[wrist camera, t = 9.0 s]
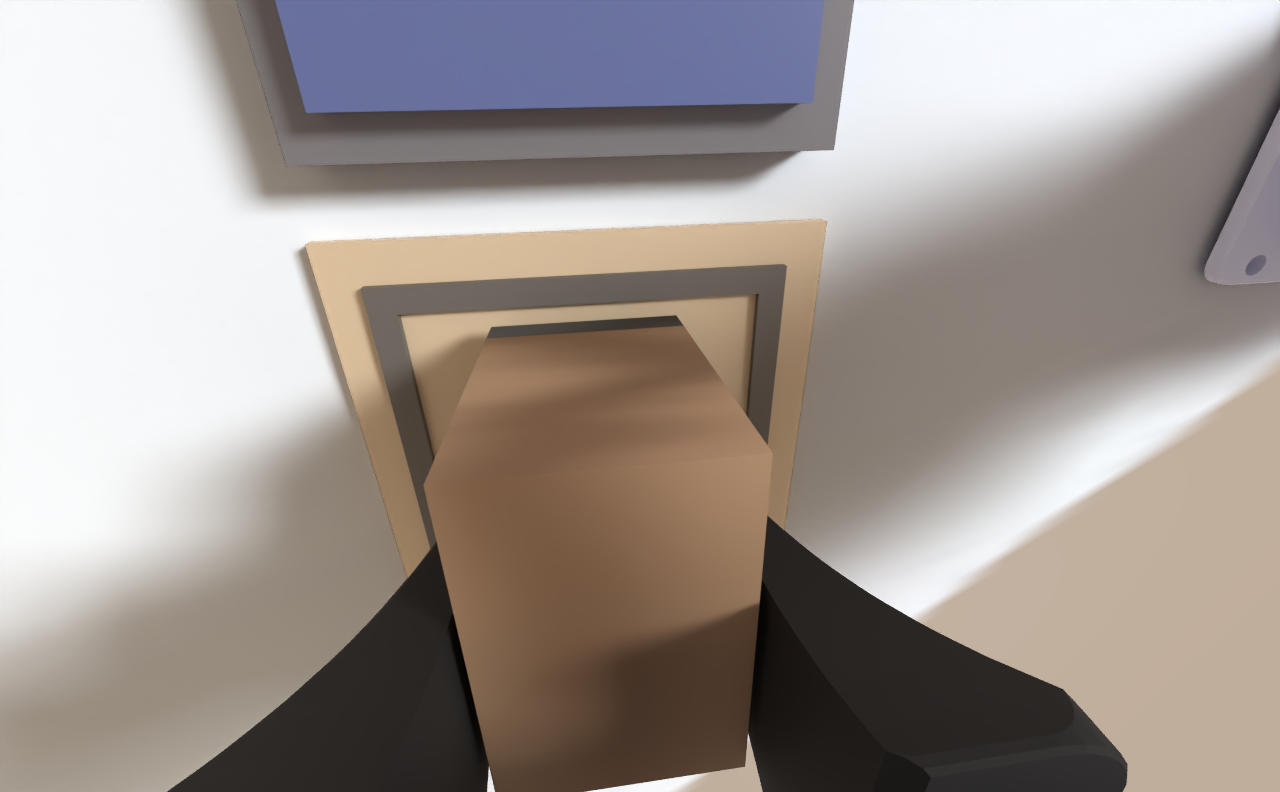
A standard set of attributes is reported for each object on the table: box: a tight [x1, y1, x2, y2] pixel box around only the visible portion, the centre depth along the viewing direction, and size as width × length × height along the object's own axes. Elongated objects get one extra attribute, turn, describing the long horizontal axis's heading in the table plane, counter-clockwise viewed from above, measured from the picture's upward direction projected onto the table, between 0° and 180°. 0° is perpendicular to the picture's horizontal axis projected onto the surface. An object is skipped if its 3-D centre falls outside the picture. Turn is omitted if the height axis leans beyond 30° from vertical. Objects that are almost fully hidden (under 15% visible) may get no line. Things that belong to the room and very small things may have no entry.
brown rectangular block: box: [423, 315, 773, 792], centre depth 10 cm, size 4×6×6 cm, turn 2°
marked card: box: [305, 219, 827, 578], centre depth 14 cm, size 11×11×1 cm
